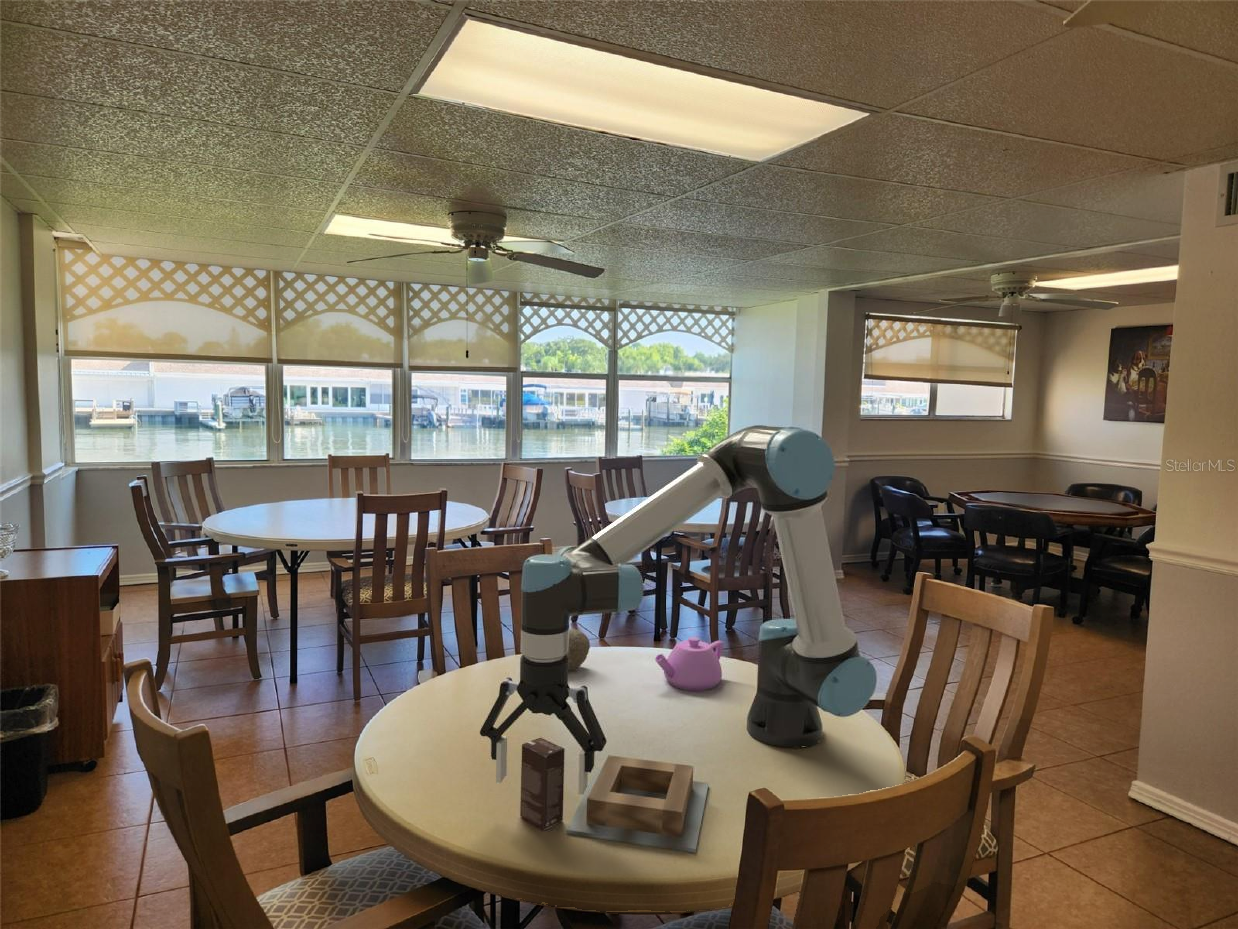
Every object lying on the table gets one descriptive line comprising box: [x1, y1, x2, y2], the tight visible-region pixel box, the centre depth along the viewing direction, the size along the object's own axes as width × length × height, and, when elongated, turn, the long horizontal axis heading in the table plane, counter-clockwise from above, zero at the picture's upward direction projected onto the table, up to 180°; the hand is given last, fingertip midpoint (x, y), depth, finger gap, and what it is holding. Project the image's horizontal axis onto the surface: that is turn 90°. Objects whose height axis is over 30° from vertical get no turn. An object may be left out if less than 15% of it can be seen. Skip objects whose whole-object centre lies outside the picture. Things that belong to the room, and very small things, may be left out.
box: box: [519, 737, 566, 831], centre depth 120 cm, size 6×4×12 cm
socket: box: [566, 754, 709, 854], centre depth 124 cm, size 20×20×5 cm
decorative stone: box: [566, 628, 591, 672], centre depth 186 cm, size 10×8×10 cm
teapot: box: [654, 636, 724, 692], centre depth 180 cm, size 14×20×11 cm
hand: (541, 784), depth 120 cm, fingers open, 13 cm apart
